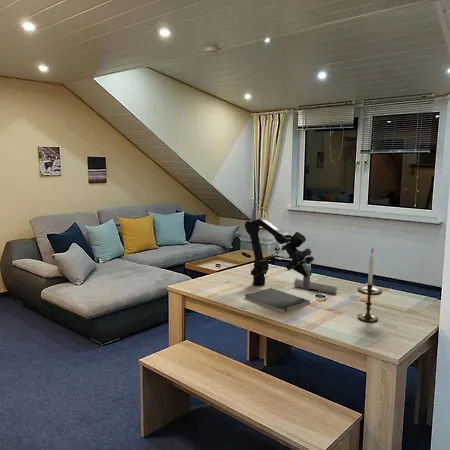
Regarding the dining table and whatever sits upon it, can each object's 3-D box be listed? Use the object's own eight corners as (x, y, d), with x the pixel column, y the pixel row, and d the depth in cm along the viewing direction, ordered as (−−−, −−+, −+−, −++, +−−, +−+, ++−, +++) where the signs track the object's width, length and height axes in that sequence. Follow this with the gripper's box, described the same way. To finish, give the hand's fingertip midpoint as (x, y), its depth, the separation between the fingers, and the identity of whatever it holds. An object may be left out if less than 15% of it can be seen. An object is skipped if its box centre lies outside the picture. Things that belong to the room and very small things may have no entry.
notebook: (309, 304, 220) (271, 291, 241) (309, 300, 220) (271, 287, 241) (281, 313, 206) (243, 298, 228) (281, 309, 206) (243, 294, 227)
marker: (303, 289, 225) (304, 265, 223) (301, 287, 229) (302, 263, 227) (310, 289, 225) (311, 265, 223) (308, 286, 229) (309, 263, 227)
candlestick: (381, 324, 193) (387, 249, 188) (357, 322, 195) (361, 248, 190) (377, 315, 203) (382, 244, 198) (354, 314, 205) (358, 243, 200)
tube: (339, 285, 240) (298, 278, 253) (336, 284, 235) (295, 277, 249) (337, 295, 239) (296, 287, 253) (334, 294, 235) (293, 286, 248)
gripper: (291, 245, 220) (307, 270, 214) (312, 241, 233) (328, 264, 226) (279, 258, 227) (294, 282, 221) (300, 253, 239) (315, 275, 233)
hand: (308, 275), depth 225 cm, fingers closed on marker, 4 cm apart
